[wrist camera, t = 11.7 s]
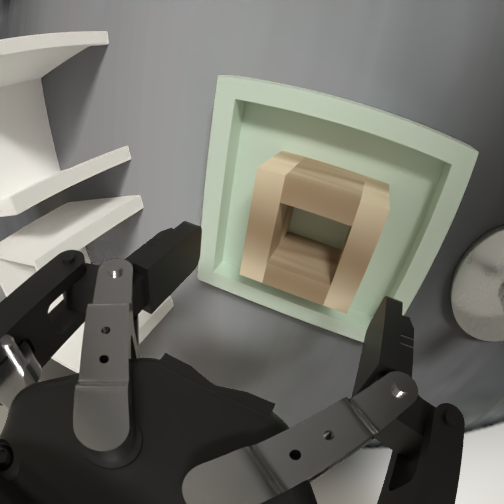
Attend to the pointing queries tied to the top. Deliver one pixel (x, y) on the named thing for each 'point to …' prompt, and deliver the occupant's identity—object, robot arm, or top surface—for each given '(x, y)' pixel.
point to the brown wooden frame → (302, 248)
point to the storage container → (50, 175)
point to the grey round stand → (481, 287)
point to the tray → (341, 155)
